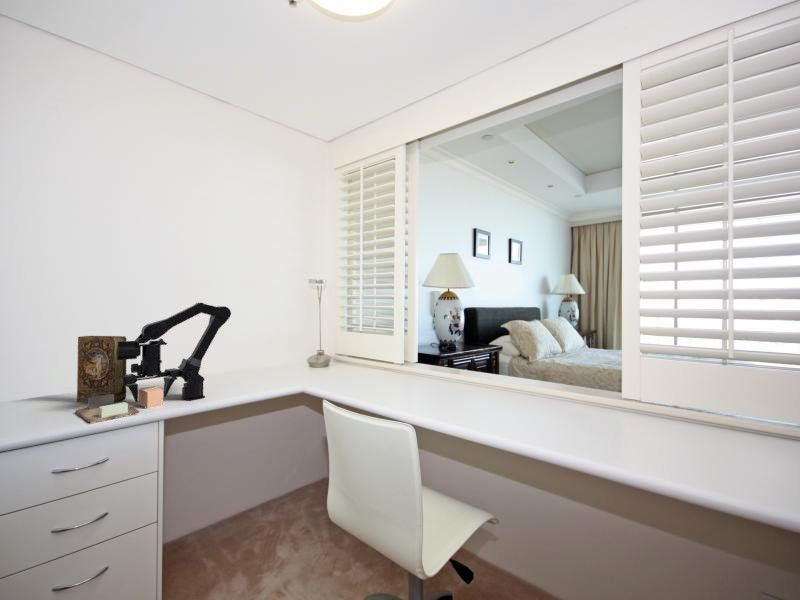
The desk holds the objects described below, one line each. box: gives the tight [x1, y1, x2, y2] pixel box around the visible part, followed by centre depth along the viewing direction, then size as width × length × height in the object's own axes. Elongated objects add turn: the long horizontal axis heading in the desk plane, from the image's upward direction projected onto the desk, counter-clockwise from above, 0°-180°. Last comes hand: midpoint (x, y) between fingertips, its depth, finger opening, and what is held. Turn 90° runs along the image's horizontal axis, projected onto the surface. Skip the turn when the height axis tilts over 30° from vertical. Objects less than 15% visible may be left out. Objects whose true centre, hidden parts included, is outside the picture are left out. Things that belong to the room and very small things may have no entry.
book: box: [76, 335, 128, 404], centre depth 138 cm, size 16×6×25 cm, turn 84°
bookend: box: [86, 394, 115, 409], centre depth 128 cm, size 7×2×4 cm, turn 143°
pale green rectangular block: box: [99, 401, 129, 418], centre depth 119 cm, size 7×3×3 cm, turn 143°
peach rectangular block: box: [137, 386, 164, 409], centre depth 134 cm, size 5×9×6 cm, turn 53°
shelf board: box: [75, 401, 140, 424], centre depth 124 cm, size 13×18×1 cm
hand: (151, 399), depth 134 cm, fingers open, 9 cm apart
